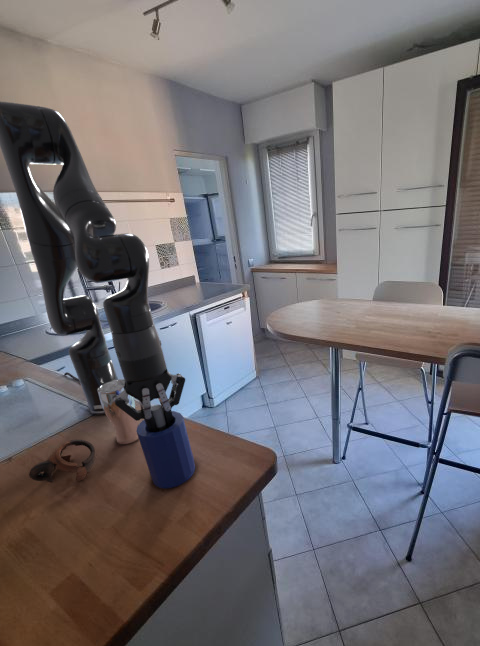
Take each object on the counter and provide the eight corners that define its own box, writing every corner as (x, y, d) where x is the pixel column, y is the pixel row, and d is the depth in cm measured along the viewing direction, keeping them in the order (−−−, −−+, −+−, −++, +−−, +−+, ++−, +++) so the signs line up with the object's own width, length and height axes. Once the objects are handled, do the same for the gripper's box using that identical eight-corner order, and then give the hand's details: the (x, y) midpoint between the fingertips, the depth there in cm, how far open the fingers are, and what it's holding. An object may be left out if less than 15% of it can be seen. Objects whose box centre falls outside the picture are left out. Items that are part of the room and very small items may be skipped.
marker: (164, 462, 71) (148, 407, 66) (174, 457, 73) (159, 403, 67) (168, 468, 70) (151, 412, 64) (178, 463, 71) (163, 407, 65)
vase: (147, 472, 73) (131, 423, 68) (186, 453, 78) (174, 406, 73) (160, 495, 67) (144, 443, 61) (201, 473, 72) (189, 423, 66)
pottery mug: (80, 454, 81) (87, 430, 78) (100, 482, 78) (107, 459, 74) (19, 476, 71) (24, 449, 68) (39, 509, 67) (44, 483, 64)
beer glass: (123, 449, 81) (104, 396, 75) (109, 439, 85) (91, 388, 79) (149, 434, 86) (134, 383, 80) (135, 425, 90) (120, 376, 84)
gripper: (170, 335, 67) (187, 407, 74) (93, 356, 60) (120, 434, 67) (184, 344, 62) (201, 421, 69) (101, 369, 54) (130, 453, 61)
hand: (161, 428), depth 68 cm, fingers closed on marker, 2 cm apart
